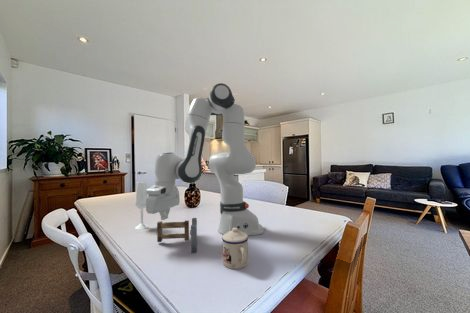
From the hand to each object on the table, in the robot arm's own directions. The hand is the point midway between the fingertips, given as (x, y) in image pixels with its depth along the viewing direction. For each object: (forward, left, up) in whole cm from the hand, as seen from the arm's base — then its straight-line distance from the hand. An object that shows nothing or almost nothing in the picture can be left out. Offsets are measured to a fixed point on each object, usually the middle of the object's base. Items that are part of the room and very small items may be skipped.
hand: (164, 219), depth 88 cm
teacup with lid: (-31, +24, -9) cm, 40 cm away
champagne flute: (+17, -18, -9) cm, 26 cm away
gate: (-5, +4, -8) cm, 11 cm away
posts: (-14, +9, -9) cm, 19 cm away
